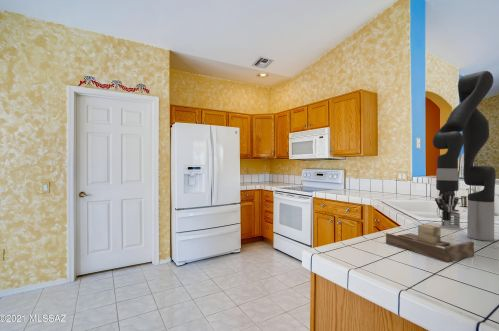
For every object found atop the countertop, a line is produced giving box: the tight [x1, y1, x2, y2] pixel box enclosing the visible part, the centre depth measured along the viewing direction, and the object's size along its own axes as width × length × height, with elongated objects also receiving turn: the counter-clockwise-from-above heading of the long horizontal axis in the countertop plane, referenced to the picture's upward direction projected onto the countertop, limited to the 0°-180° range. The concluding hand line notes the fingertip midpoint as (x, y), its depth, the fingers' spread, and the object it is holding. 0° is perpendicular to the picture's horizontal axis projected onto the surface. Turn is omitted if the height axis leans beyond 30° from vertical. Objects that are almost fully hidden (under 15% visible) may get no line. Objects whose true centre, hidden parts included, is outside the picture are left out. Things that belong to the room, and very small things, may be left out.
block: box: [417, 223, 442, 243], centre depth 106 cm, size 6×6×6 cm
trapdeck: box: [385, 232, 475, 263], centre depth 103 cm, size 16×24×5 cm, turn 24°
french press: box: [436, 201, 463, 231], centre depth 139 cm, size 10×12×25 cm
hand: (446, 220), depth 108 cm, fingers closed
